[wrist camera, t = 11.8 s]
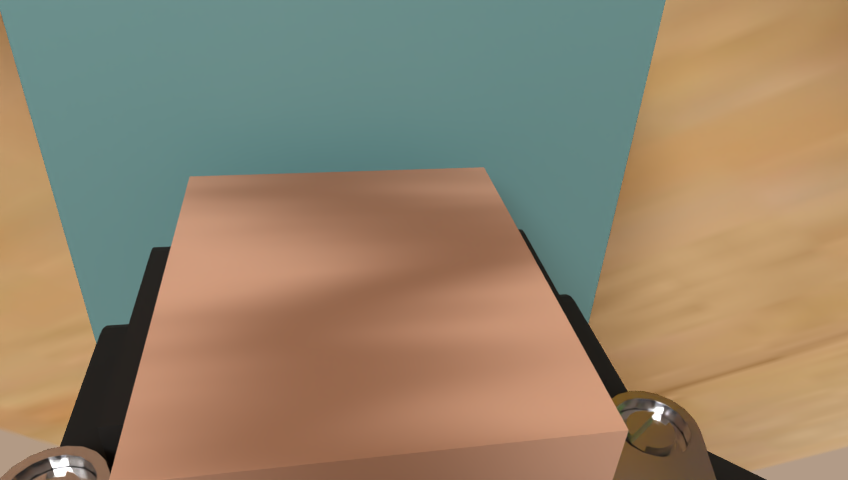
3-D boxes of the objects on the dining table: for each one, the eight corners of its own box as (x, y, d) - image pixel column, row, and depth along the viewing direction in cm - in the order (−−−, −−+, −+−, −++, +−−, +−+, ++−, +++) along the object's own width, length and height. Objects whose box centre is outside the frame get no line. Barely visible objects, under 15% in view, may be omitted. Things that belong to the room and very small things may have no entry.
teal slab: (578, -71, 15) (673, -32, 12) (518, 303, 21) (567, 408, 17) (67, -87, 13) (-16, -46, 10) (158, 330, 19) (128, 454, 16)
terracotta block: (484, 167, 12) (628, 429, 7) (461, 373, 14) (551, 669, 9) (189, 176, 11) (107, 485, 6) (223, 393, 14) (186, 731, 9)
